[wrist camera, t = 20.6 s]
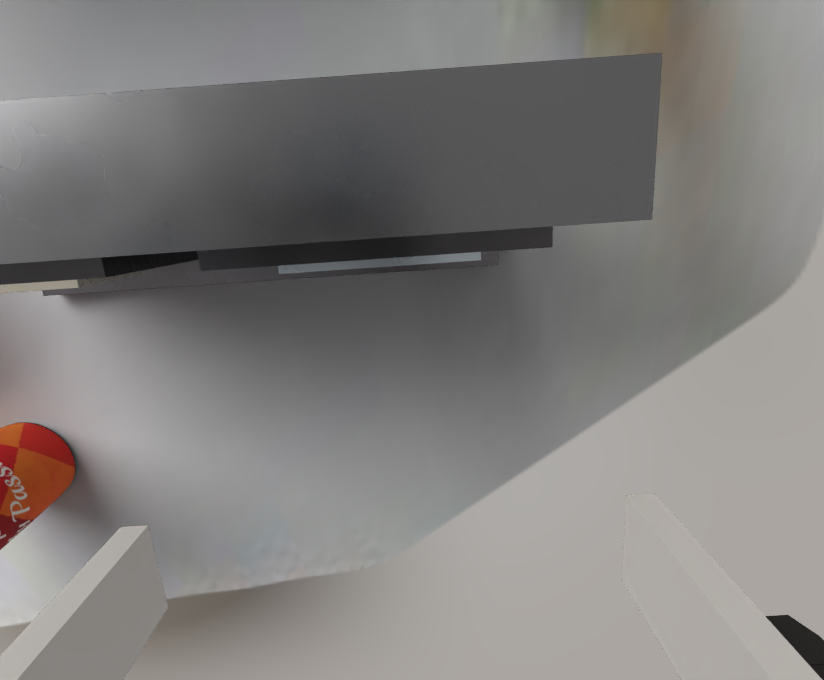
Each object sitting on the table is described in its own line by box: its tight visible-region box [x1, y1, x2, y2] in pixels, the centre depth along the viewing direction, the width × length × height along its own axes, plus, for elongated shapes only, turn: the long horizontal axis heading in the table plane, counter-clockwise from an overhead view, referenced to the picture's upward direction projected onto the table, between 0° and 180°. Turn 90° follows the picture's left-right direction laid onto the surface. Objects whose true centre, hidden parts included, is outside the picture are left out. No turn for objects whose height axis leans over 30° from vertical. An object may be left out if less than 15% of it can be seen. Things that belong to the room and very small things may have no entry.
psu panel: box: [0, 53, 662, 296], centre depth 18 cm, size 8×26×18 cm, turn 94°
